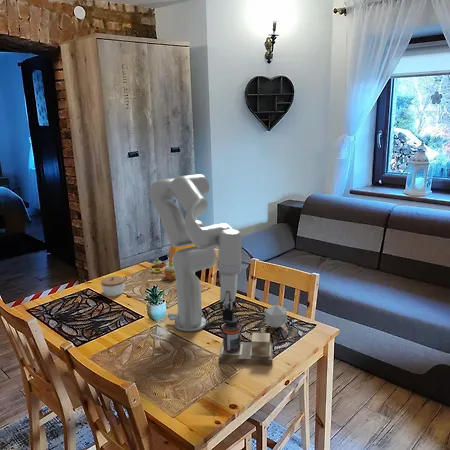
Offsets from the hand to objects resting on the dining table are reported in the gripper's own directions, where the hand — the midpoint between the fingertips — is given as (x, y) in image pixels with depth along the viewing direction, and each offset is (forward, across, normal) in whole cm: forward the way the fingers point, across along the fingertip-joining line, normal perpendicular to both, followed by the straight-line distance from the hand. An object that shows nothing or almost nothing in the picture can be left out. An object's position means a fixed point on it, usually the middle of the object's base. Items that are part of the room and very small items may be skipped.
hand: (229, 312), depth 150 cm
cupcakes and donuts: (+20, -74, -40) cm, 87 cm away
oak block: (+13, +1, +11) cm, 17 cm away
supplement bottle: (+13, +1, +1) cm, 13 cm away
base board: (+15, +2, +6) cm, 17 cm away
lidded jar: (+20, -46, -60) cm, 78 cm away
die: (+16, -20, +16) cm, 30 cm away
